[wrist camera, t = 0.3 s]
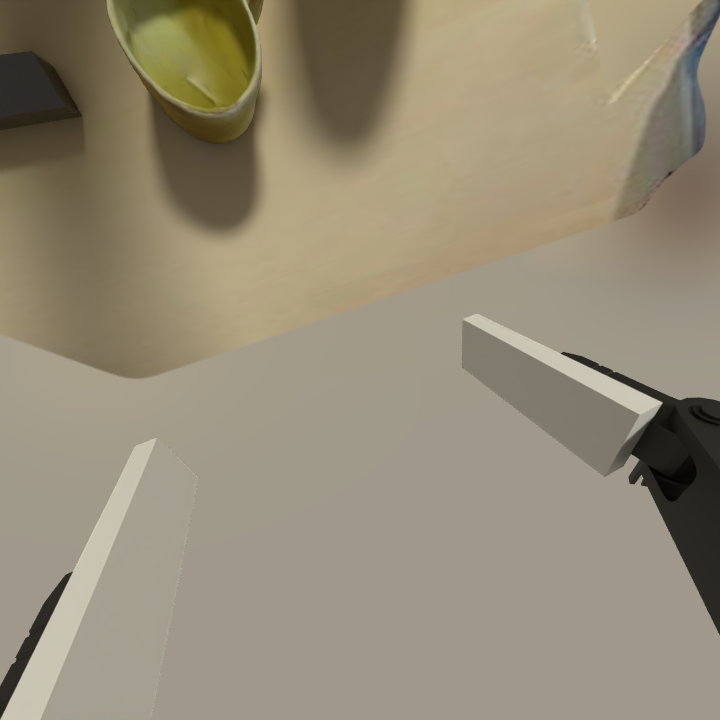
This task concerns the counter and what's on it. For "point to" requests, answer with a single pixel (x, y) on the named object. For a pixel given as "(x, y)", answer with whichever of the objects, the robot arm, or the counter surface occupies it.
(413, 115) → the counter surface
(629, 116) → the counter surface
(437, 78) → the counter surface
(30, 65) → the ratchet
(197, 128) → the mug
